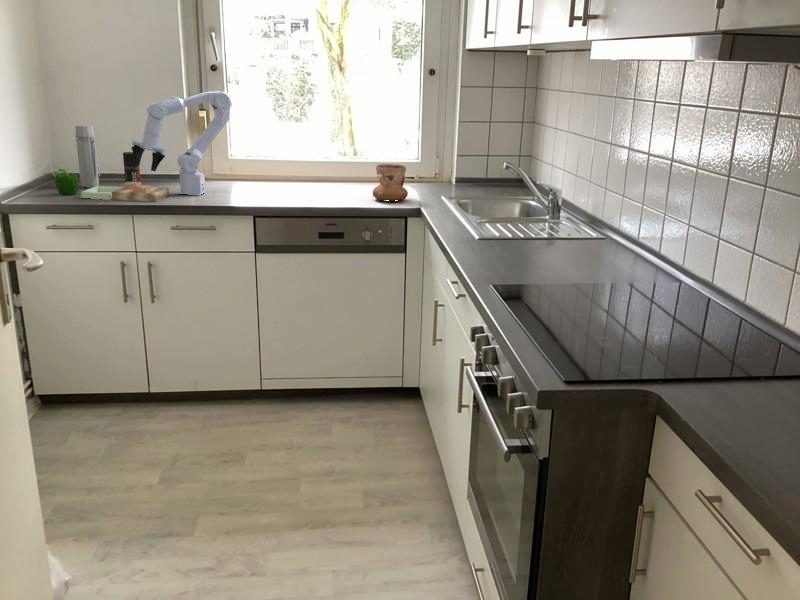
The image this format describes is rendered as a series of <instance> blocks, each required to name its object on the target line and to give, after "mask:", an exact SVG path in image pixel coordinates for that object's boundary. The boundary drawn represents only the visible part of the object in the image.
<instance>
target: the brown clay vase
mask: <svg viewBox="0 0 800 600" xmlns="http://www.w3.org/2000/svg"><path fill="white" fill-rule="evenodd" d="M406 169H407V167H406V165H403V164H399V163H397V164H395V163H381V164H380V163H379V164H376V165H375V172H376V174H377V175H376V178H377V179H378V181H379V183H378V185H377V186H375V187H374V188H373V189H372V196H373V198H374V199H377V200H378V199H379V200H378V201H381V200H389V201H395V200H401V201H403V200H405V199H406V198H407V197H408V194H409V192H408V190H407V189H406V188H405V187H404V184H405V183H404V182H405V180H406V179H405V178H406V177H405V176H406V175H405V173H406V172H407V171H406Z"/></svg>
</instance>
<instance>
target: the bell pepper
mask: <svg viewBox="0 0 800 600" xmlns="http://www.w3.org/2000/svg"><path fill="white" fill-rule="evenodd" d="M58 172H63V173H56V175H55V177H54V183H55V187H56V190H57V192H58V193H59V194H60V195H61V194H62V195H63V196H66V195H65V194H67V196H72V194H73V195H76V194H77V192H78V190H79V185H80V184H79V178H78V176H77V174H76V173H73V172H72V173H68V172H67V170H65V168H59V169H58Z"/></svg>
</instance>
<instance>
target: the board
mask: <svg viewBox="0 0 800 600" xmlns="http://www.w3.org/2000/svg"><path fill="white" fill-rule="evenodd" d="M122 187H123V188H121V189H118V190H115V191H113V192H112V199H111V201H128V200H129V201H132V202H133V201H134V202H149V201H154V202H155V203H156V201H157V202H158V200H159V201H160V199H161V200H163V199H165V198H167V197H169V196H170V192H169V187H151V191H150V192H147V193H133V189H124V186H122ZM168 195H169V196H168ZM166 196H167V197H166ZM164 197H165V198H164ZM162 198H163V199H162ZM154 202H153V203H154Z"/></svg>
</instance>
